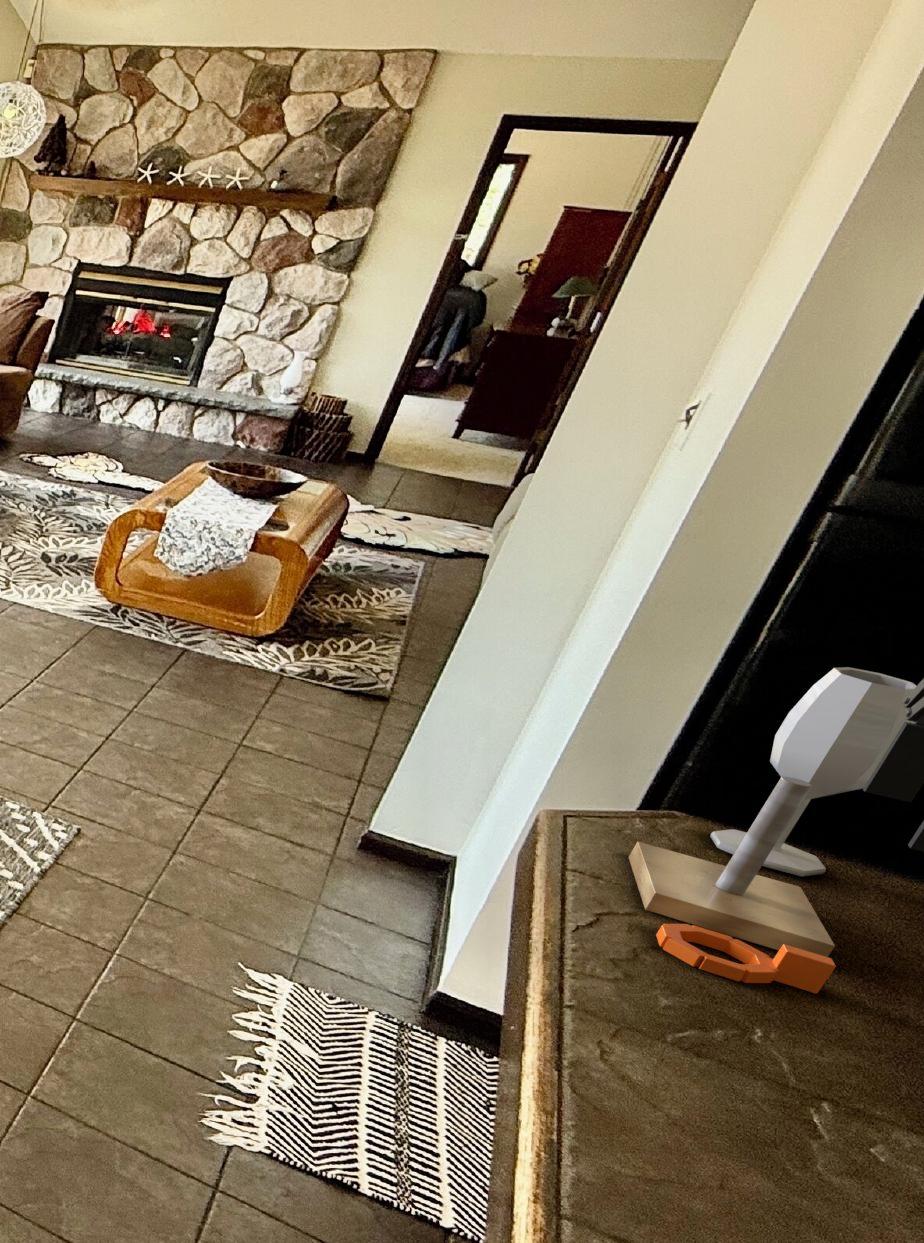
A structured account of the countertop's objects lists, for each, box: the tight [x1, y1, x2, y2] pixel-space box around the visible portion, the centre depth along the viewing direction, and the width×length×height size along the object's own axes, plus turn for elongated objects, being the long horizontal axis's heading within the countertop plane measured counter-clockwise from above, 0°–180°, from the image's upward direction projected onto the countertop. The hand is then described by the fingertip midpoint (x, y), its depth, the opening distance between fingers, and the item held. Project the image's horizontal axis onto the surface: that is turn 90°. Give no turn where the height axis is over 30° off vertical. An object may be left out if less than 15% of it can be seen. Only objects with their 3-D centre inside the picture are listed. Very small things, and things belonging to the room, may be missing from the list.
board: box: [628, 776, 836, 958], centre depth 112 cm, size 12×14×14 cm
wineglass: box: [710, 666, 917, 877], centre depth 121 cm, size 9×9×21 cm
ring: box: [655, 923, 837, 995], centre depth 104 cm, size 10×7×3 cm
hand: (909, 823), depth 96 cm, fingers open, 13 cm apart
